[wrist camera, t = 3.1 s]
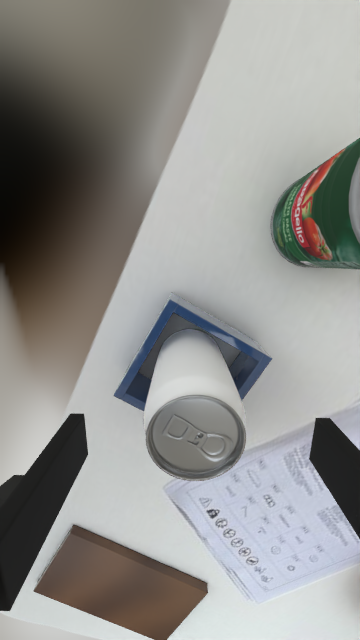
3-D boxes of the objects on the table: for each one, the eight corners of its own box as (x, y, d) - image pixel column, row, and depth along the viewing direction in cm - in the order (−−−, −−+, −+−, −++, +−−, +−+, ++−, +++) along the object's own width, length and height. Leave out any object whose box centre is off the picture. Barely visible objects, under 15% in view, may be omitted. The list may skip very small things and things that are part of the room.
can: (201, 395, 26) (216, 503, 14) (148, 368, 25) (118, 459, 14) (232, 345, 25) (276, 420, 13) (177, 316, 24) (172, 368, 12)
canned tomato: (258, 198, 21) (332, 136, 11) (345, 157, 21) (519, 46, 10) (286, 281, 23) (374, 297, 12) (367, 246, 22) (538, 231, 12)
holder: (125, 372, 26) (113, 395, 21) (172, 291, 24) (169, 298, 19) (205, 415, 27) (209, 445, 22) (256, 341, 25) (272, 358, 20)
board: (37, 581, 33) (33, 591, 32) (73, 524, 31) (70, 532, 30) (163, 632, 35) (163, 643, 34) (207, 583, 33) (208, 593, 32)
